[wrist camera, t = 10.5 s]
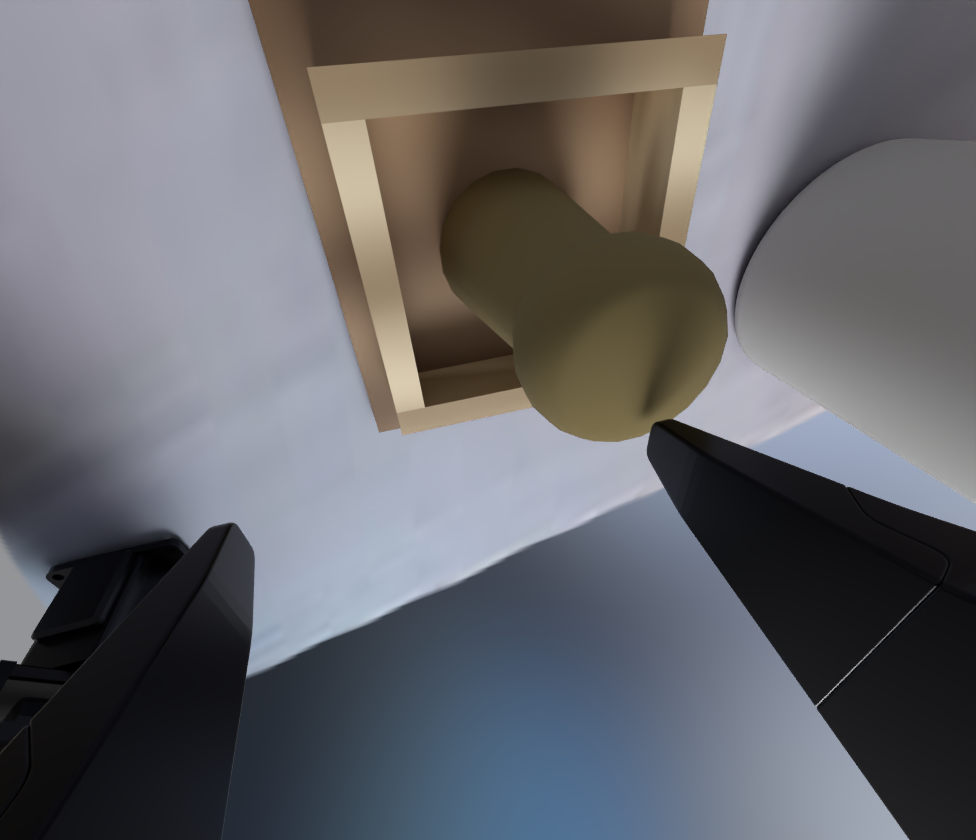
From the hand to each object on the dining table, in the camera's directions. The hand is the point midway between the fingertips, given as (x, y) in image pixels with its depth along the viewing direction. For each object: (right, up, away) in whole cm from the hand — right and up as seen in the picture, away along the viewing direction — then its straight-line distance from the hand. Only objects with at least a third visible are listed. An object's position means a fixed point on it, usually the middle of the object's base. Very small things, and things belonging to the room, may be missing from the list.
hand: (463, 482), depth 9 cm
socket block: (+1, +9, +10) cm, 13 cm away
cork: (+1, +9, +9) cm, 13 cm away
